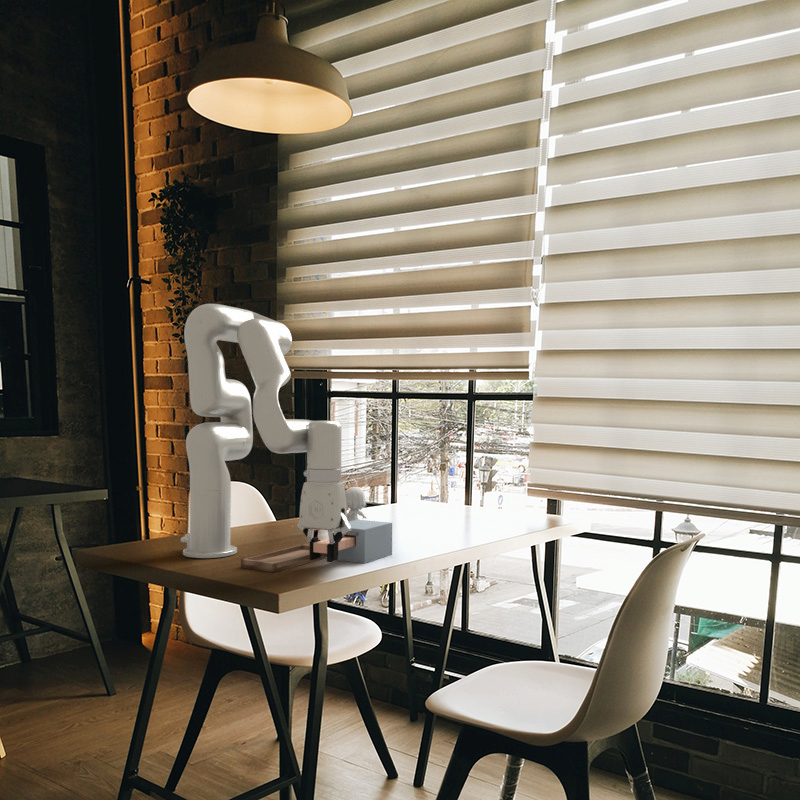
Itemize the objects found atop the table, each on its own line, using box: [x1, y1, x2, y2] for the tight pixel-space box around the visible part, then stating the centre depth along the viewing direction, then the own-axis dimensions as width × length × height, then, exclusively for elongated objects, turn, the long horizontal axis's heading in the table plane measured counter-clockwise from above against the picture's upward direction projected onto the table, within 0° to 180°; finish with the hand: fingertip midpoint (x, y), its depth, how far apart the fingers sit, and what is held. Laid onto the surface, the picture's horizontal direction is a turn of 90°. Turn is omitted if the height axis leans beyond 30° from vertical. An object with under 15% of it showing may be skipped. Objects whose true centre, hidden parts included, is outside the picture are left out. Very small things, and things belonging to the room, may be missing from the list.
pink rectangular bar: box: [313, 535, 356, 554], centre depth 165 cm, size 4×16×2 cm, turn 150°
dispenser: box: [337, 519, 393, 564], centre depth 171 cm, size 10×12×8 cm
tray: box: [240, 543, 327, 573], centre depth 166 cm, size 10×22×2 cm, turn 150°
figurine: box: [345, 486, 367, 522], centre depth 187 cm, size 10×6×15 cm, turn 146°
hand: (323, 559), depth 159 cm, fingers closed on pink rectangular bar, 4 cm apart
